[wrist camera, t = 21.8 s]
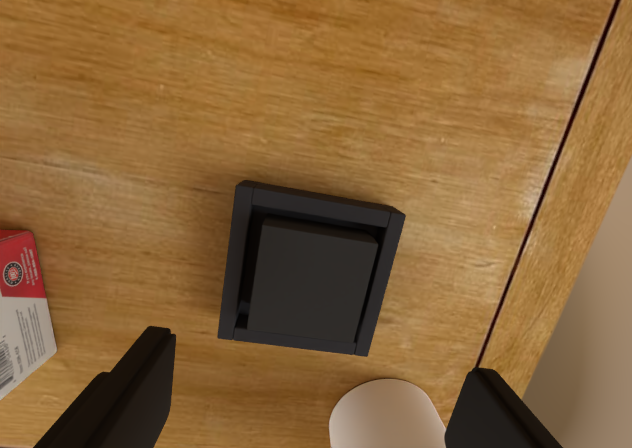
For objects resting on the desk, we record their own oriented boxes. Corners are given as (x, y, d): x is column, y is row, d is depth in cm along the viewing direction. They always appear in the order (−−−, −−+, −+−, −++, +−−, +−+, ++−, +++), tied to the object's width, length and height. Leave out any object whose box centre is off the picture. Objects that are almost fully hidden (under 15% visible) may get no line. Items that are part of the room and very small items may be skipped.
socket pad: (393, 206, 18) (406, 214, 16) (360, 334, 20) (367, 357, 18) (243, 179, 17) (235, 184, 15) (226, 316, 19) (217, 338, 17)
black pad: (367, 229, 18) (378, 244, 15) (346, 317, 19) (353, 343, 17) (267, 212, 17) (262, 224, 14) (253, 304, 18) (246, 329, 16)
